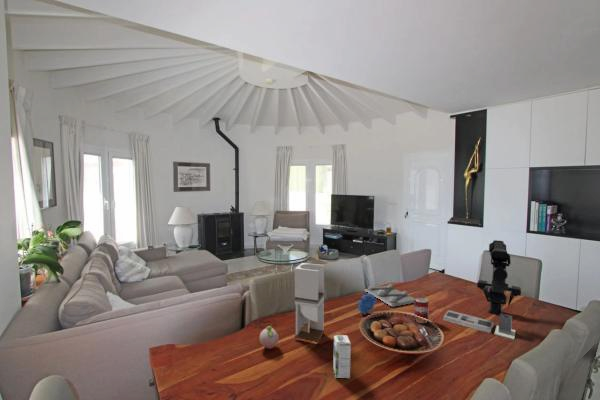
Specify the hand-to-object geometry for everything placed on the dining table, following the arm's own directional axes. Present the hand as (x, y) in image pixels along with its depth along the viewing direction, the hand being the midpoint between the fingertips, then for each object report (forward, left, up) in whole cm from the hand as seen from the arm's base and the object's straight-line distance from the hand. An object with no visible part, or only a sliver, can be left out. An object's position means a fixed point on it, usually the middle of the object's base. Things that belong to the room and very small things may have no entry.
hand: (498, 303), depth 151 cm
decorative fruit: (+92, -78, -13) cm, 121 cm away
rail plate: (+5, -13, -13) cm, 19 cm away
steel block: (+5, +4, -12) cm, 14 cm away
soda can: (+20, -33, -13) cm, 41 cm away
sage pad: (+5, +4, -13) cm, 14 cm away
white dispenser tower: (+72, -70, -13) cm, 101 cm away
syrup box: (+86, -43, -13) cm, 97 cm away
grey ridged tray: (-3, -60, -13) cm, 61 cm away
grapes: (+30, -61, -13) cm, 69 cm away
